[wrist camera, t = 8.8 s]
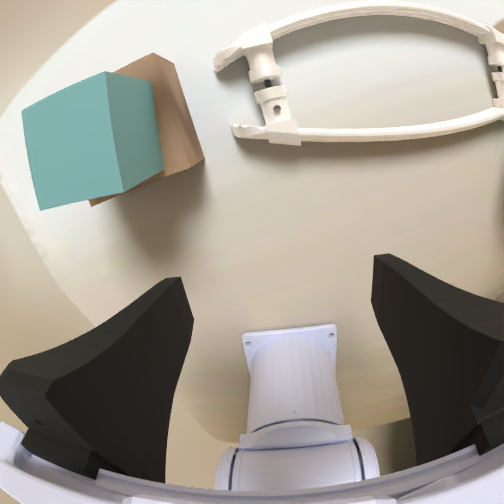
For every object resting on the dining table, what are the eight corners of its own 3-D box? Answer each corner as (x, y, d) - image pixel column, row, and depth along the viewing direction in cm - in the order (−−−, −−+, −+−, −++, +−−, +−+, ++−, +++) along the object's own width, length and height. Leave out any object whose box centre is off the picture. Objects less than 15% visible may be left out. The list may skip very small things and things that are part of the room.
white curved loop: (521, 128, 15) (244, 169, 19) (498, 24, 11) (204, 34, 15) (541, 132, 13) (241, 176, 16) (516, 20, 9) (195, 22, 13)
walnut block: (205, 158, 19) (190, 167, 15) (119, 190, 20) (91, 206, 16) (174, 64, 16) (152, 52, 12) (90, 105, 17) (57, 107, 13)
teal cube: (164, 169, 15) (123, 192, 11) (91, 184, 16) (40, 210, 11) (151, 82, 13) (105, 71, 8) (78, 106, 13) (21, 110, 9)
